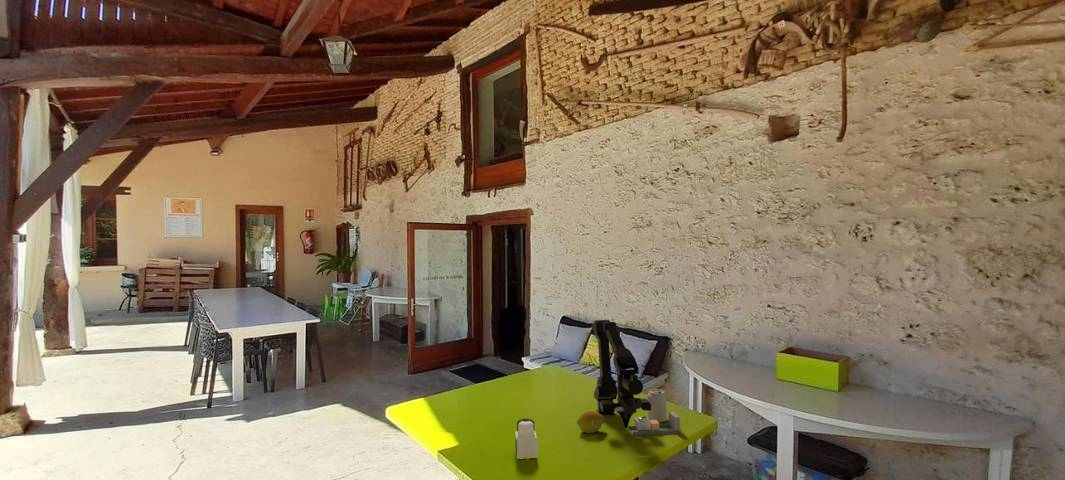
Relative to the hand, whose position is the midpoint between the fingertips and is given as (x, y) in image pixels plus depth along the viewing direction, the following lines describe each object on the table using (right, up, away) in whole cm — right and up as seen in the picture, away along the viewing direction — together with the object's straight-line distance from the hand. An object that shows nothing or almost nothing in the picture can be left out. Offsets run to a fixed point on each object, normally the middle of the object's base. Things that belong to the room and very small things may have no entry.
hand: (625, 427), depth 182 cm
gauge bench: (+11, -2, +1) cm, 11 cm away
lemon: (-13, -3, +2) cm, 13 cm away
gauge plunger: (+7, -1, 0) cm, 7 cm away
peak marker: (+11, -2, +1) cm, 11 cm away
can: (+15, -2, +12) cm, 20 cm away
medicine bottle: (-38, -3, -17) cm, 42 cm away
